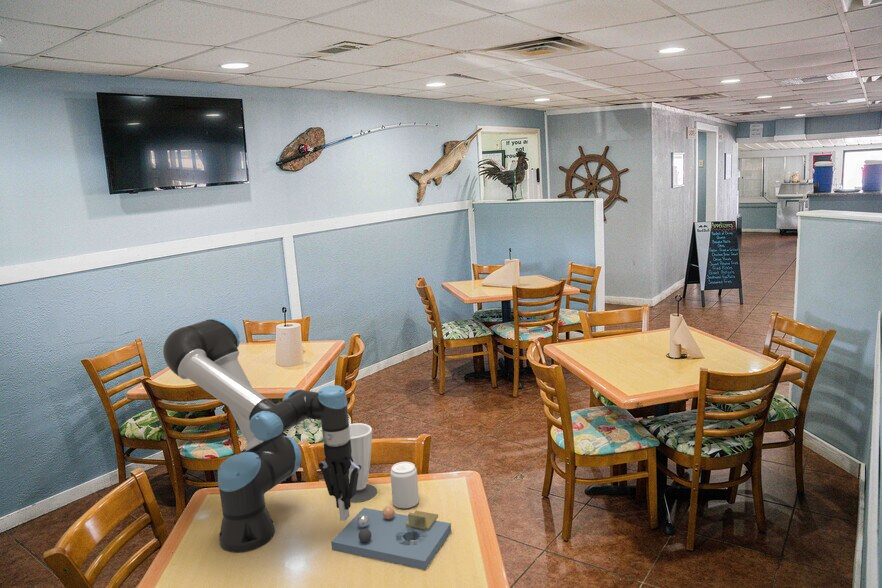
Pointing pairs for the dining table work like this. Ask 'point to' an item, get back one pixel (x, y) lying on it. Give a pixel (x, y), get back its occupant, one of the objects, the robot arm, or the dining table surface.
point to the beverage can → (404, 485)
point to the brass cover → (421, 520)
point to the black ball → (364, 535)
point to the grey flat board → (392, 540)
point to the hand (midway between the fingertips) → (344, 518)
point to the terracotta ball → (388, 512)
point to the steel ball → (362, 521)
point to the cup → (361, 460)
